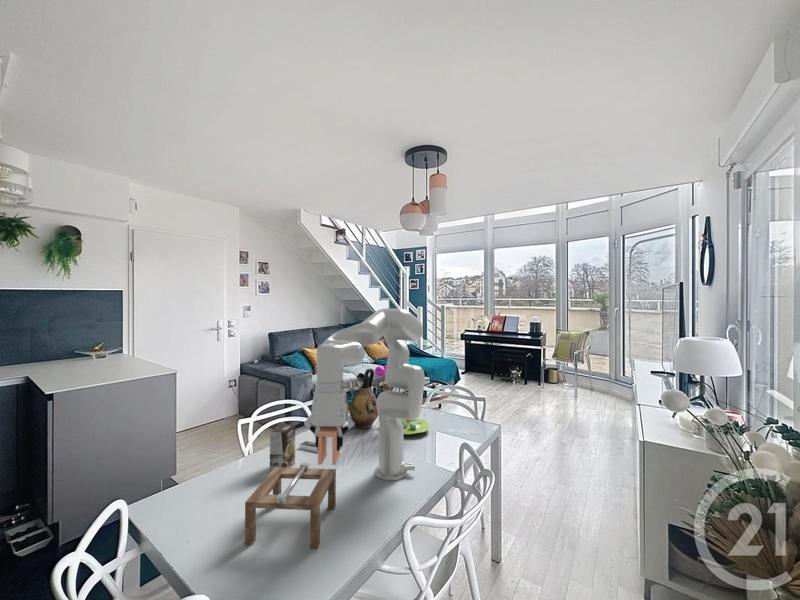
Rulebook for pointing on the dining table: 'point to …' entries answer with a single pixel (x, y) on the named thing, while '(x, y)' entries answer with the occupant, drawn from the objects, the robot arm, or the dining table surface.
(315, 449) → the multiport hub
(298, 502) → the open wooden frame
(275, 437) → the coffee box
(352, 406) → the ceramic jug
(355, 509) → the dining table surface
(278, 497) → the metal guide rod
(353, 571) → the dining table surface
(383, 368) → the flower ornament
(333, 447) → the slotted peach block
